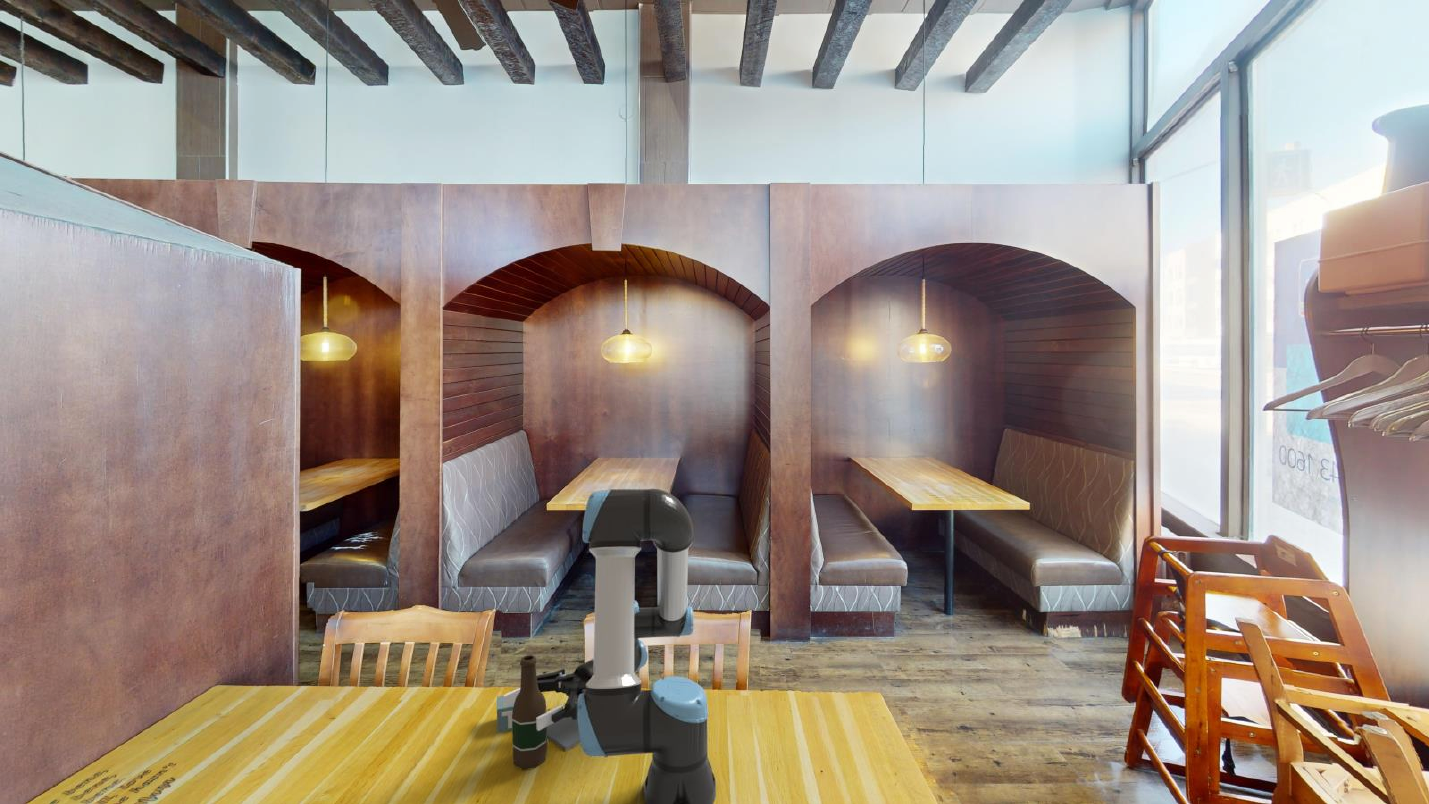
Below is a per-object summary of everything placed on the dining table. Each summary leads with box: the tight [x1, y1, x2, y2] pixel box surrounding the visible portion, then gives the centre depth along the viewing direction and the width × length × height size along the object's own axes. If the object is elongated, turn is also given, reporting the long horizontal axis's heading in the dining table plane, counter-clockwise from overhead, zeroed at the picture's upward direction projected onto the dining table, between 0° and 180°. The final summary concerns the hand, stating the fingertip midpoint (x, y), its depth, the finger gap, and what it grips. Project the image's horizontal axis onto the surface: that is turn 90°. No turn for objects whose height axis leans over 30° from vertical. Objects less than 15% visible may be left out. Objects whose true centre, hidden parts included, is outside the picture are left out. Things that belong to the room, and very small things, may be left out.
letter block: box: [496, 695, 514, 733], centre depth 149 cm, size 6×6×6 cm
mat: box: [547, 717, 581, 751], centre depth 147 cm, size 12×12×1 cm
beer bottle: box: [511, 654, 548, 770], centre depth 135 cm, size 8×8×24 cm
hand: (520, 712), depth 133 cm, fingers open, 13 cm apart
